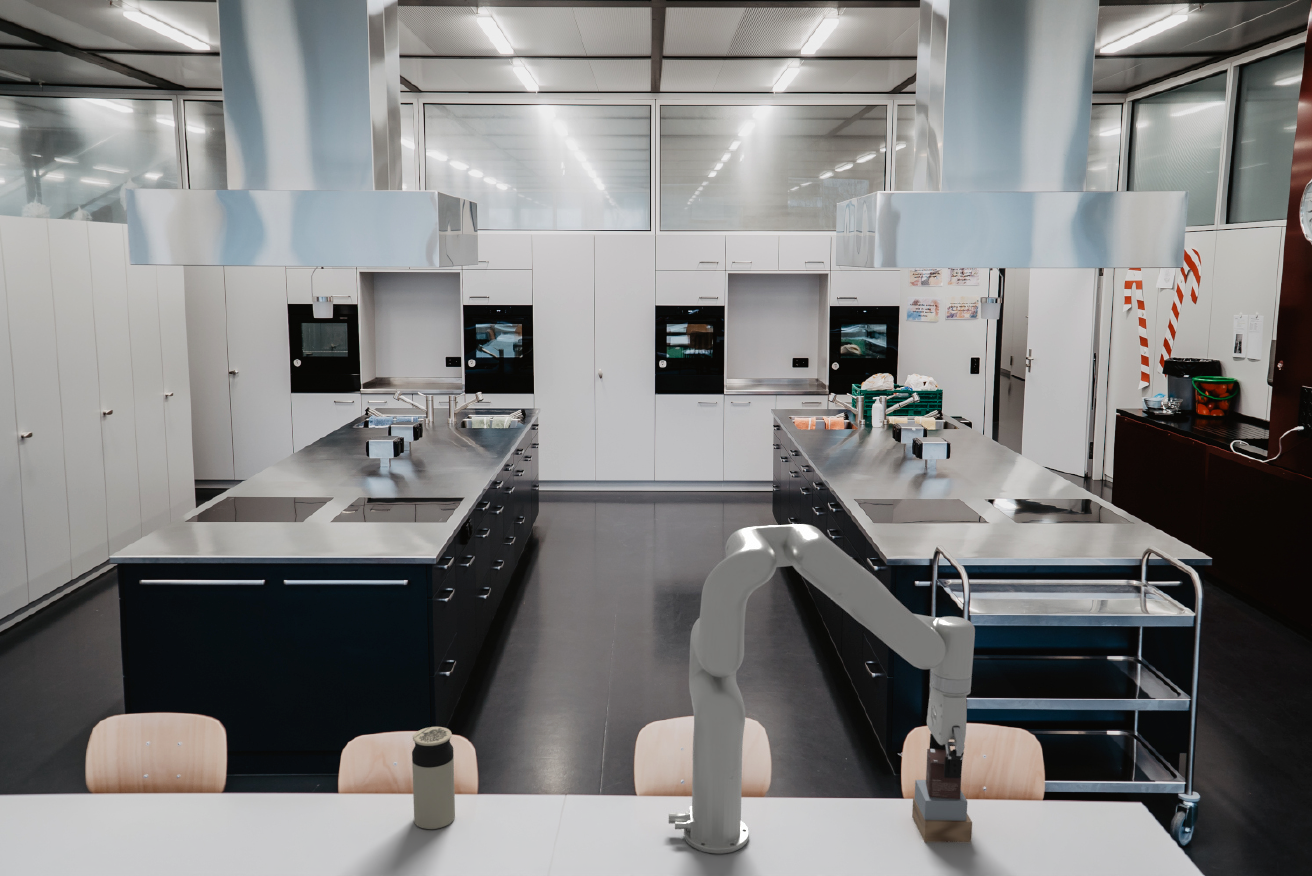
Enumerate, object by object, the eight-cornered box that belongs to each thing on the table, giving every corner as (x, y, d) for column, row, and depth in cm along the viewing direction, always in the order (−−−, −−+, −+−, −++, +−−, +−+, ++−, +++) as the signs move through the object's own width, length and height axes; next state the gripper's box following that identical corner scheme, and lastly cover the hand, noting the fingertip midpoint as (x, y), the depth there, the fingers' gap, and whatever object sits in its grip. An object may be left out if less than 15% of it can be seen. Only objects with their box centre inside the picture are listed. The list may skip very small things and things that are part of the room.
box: (960, 800, 183) (962, 765, 182) (928, 797, 184) (930, 762, 183) (956, 784, 189) (958, 750, 188) (925, 781, 190) (927, 747, 189)
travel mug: (463, 816, 191) (461, 732, 189) (434, 834, 185) (432, 747, 182) (435, 804, 195) (432, 722, 193) (405, 822, 189) (402, 737, 186)
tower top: (924, 819, 184) (925, 800, 183) (914, 798, 191) (915, 779, 191) (966, 820, 183) (967, 801, 183) (954, 798, 191) (955, 780, 191)
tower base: (924, 843, 184) (925, 821, 183) (912, 817, 192) (913, 797, 192) (970, 843, 184) (972, 822, 183) (956, 818, 192) (957, 797, 192)
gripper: (919, 663, 192) (913, 743, 194) (944, 699, 175) (938, 786, 177) (956, 664, 192) (950, 744, 194) (985, 700, 175) (978, 787, 177)
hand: (944, 764), depth 186 cm, fingers open, 9 cm apart
